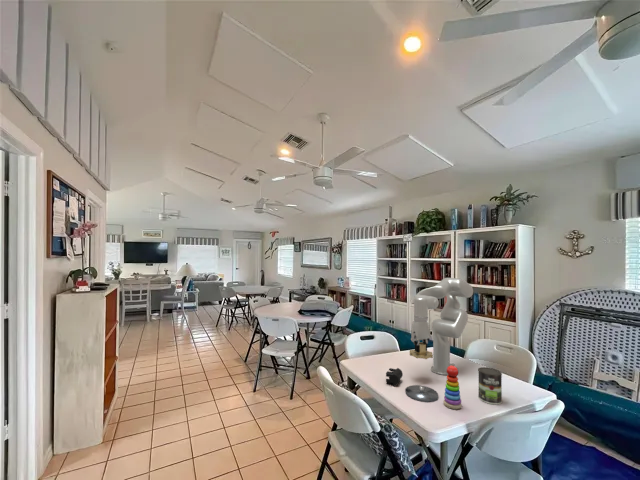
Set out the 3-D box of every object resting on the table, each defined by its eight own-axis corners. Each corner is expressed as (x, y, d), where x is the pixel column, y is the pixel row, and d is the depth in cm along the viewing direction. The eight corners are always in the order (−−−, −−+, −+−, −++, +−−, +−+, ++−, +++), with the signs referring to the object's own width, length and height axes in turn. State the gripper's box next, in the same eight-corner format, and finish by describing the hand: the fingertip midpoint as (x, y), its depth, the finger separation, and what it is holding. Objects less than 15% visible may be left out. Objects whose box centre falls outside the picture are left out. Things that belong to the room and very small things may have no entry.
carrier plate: (420, 385, 163) (420, 378, 163) (445, 397, 149) (445, 390, 149) (398, 390, 156) (398, 383, 156) (422, 404, 142) (422, 396, 142)
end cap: (398, 387, 160) (398, 374, 160) (385, 384, 163) (385, 372, 164) (402, 380, 169) (402, 368, 169) (390, 378, 172) (390, 366, 172)
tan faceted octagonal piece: (420, 350, 178) (420, 339, 178) (437, 356, 167) (437, 345, 167) (405, 353, 172) (405, 342, 172) (421, 360, 161) (421, 348, 161)
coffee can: (504, 406, 141) (503, 376, 142) (479, 402, 145) (479, 372, 146) (499, 397, 151) (499, 368, 152) (477, 393, 155) (476, 365, 156)
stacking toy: (440, 401, 145) (440, 362, 146) (456, 401, 146) (455, 362, 147) (448, 410, 137) (448, 368, 138) (465, 409, 138) (465, 368, 139)
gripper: (426, 316, 178) (426, 347, 177) (405, 319, 170) (405, 351, 169) (436, 318, 171) (436, 350, 170) (414, 321, 163) (414, 355, 162)
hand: (420, 350), depth 170 cm, fingers closed on tan faceted octagonal piece, 5 cm apart
